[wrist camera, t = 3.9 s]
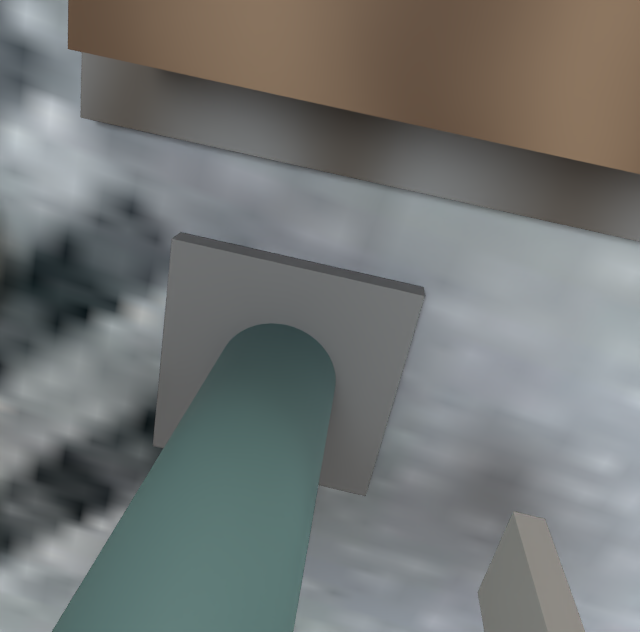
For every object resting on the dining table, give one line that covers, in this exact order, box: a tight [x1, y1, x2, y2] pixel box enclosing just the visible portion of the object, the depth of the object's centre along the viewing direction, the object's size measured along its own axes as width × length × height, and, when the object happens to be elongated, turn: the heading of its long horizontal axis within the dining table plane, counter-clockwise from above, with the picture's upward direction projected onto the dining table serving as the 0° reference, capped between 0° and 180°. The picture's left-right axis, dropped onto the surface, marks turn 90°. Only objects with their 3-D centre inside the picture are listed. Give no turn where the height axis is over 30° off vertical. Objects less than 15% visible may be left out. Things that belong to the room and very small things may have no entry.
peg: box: [52, 323, 336, 632], centre depth 14 cm, size 4×4×11 cm
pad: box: [153, 232, 425, 496], centre depth 19 cm, size 8×8×1 cm
